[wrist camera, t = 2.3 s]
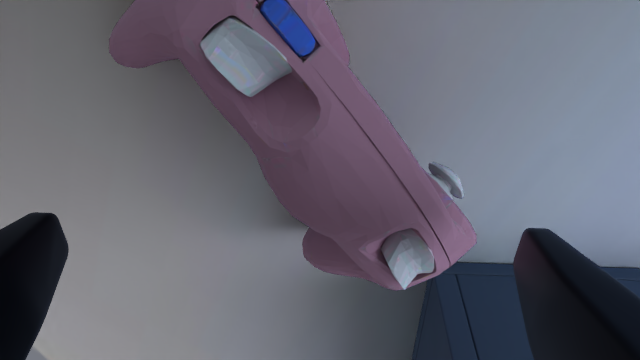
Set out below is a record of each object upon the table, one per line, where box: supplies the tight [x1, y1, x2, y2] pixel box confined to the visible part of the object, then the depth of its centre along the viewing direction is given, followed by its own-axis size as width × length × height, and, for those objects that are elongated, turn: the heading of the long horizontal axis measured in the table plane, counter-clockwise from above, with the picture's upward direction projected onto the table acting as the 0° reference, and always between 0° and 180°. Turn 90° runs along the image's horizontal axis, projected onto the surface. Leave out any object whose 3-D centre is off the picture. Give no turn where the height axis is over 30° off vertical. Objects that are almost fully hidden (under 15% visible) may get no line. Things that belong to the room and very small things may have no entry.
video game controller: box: [109, 0, 477, 291], centre depth 12 cm, size 10×5×7 cm, turn 35°
